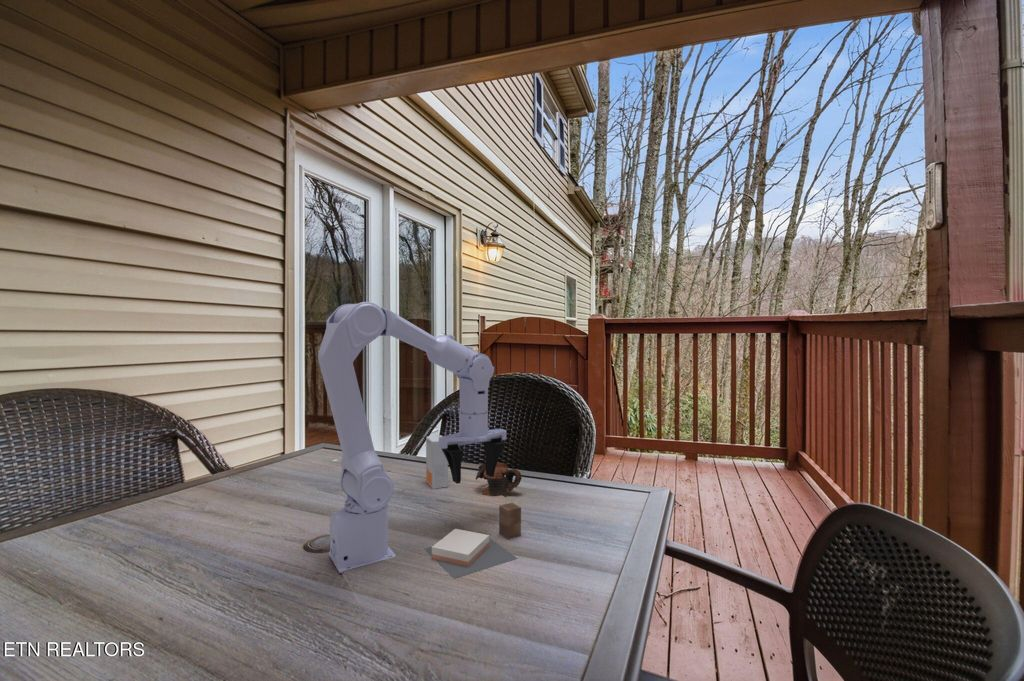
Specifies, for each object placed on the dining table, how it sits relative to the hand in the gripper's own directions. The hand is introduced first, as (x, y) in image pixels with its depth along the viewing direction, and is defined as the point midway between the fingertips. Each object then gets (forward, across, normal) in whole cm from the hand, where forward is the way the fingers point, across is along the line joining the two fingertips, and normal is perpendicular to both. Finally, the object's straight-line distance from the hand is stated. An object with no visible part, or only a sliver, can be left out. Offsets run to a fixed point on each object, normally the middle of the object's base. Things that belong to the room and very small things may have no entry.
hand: (473, 478), depth 95 cm
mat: (+9, -7, -12) cm, 17 cm away
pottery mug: (+10, +14, +14) cm, 22 cm away
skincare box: (+10, +4, +26) cm, 28 cm away
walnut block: (+9, +3, -9) cm, 13 cm away
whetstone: (+8, -10, -8) cm, 15 cm away
